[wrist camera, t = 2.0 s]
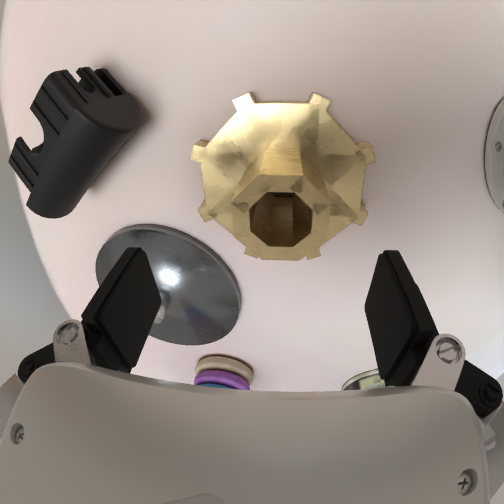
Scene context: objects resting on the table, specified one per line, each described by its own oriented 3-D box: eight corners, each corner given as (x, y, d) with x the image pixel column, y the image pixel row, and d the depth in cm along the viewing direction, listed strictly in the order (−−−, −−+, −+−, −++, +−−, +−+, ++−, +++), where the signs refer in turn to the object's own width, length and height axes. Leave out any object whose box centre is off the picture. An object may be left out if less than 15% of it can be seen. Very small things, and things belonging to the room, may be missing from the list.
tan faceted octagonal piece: (373, 98, 15) (412, 110, 10) (355, 250, 22) (371, 307, 17) (190, 97, 16) (147, 109, 11) (210, 246, 24) (187, 300, 18)
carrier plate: (232, 223, 22) (223, 250, 19) (245, 343, 31) (241, 369, 28) (81, 225, 24) (61, 246, 21) (128, 328, 33) (118, 349, 30)
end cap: (93, 194, 22) (48, 233, 16) (51, 144, 19) (0, 172, 14) (159, 119, 18) (107, 142, 12) (106, 61, 15) (45, 67, 9)
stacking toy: (203, 346, 33) (166, 486, 18) (262, 364, 34) (243, 502, 19) (192, 371, 38) (162, 485, 23) (243, 386, 38) (223, 499, 23)
